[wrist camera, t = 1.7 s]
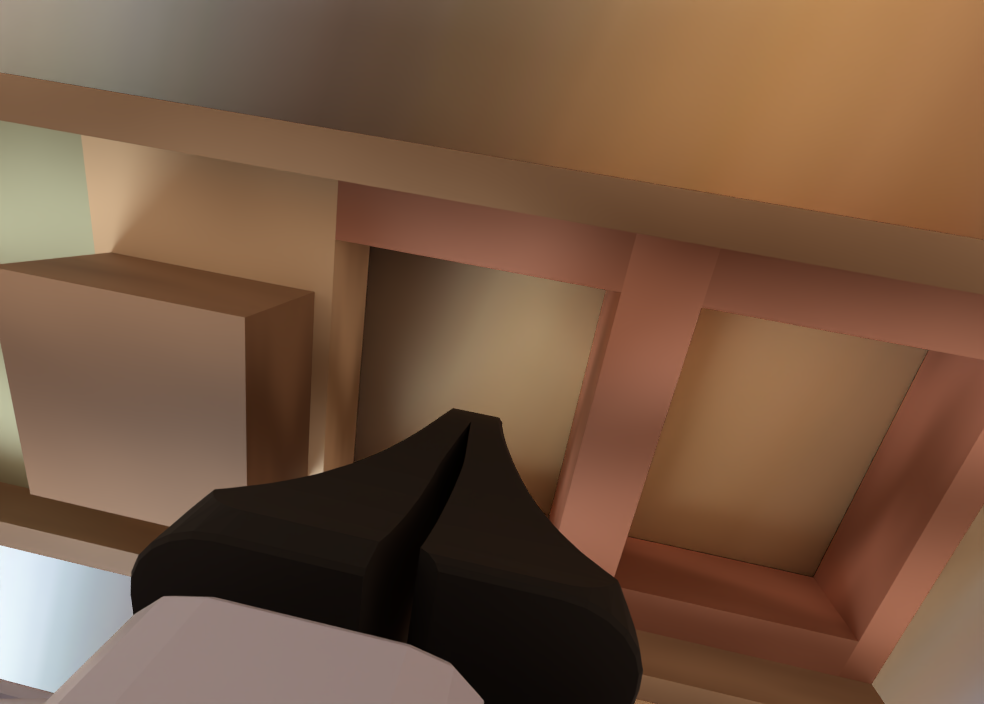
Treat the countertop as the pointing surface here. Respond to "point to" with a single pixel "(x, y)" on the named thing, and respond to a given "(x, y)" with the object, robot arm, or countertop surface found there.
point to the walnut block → (154, 381)
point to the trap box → (611, 366)
